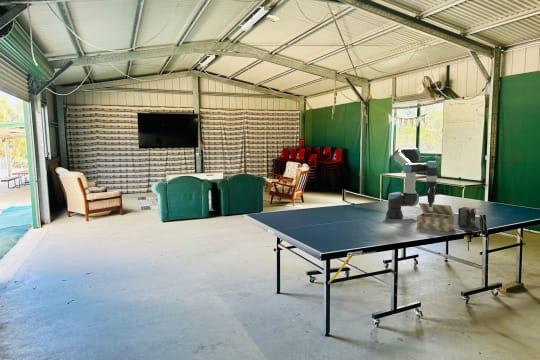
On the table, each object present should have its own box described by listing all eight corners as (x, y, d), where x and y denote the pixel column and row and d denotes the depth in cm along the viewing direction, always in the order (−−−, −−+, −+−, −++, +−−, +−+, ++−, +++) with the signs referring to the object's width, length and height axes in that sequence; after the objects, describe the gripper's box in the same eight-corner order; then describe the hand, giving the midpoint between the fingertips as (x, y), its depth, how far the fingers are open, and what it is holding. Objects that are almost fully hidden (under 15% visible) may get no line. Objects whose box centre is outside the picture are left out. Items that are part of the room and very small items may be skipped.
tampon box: (469, 227, 285) (469, 209, 283) (457, 225, 292) (458, 208, 291) (475, 225, 291) (476, 208, 290) (464, 223, 299) (464, 206, 297)
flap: (418, 203, 290) (419, 202, 290) (423, 212, 298) (423, 211, 299) (450, 206, 273) (450, 205, 274) (454, 216, 282) (454, 214, 282)
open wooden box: (416, 227, 289) (416, 215, 288) (423, 224, 299) (423, 212, 298) (448, 231, 273) (448, 219, 272) (453, 228, 283) (454, 216, 282)
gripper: (433, 182, 268) (432, 212, 270) (439, 180, 277) (438, 210, 280) (423, 181, 273) (422, 211, 275) (429, 180, 282) (429, 209, 285)
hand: (430, 210), depth 277 cm, fingers closed
